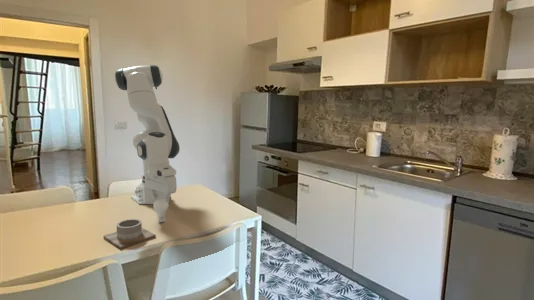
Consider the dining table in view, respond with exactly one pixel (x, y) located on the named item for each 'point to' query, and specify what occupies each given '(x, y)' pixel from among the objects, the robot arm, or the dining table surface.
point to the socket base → (129, 242)
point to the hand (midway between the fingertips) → (160, 200)
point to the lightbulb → (160, 209)
